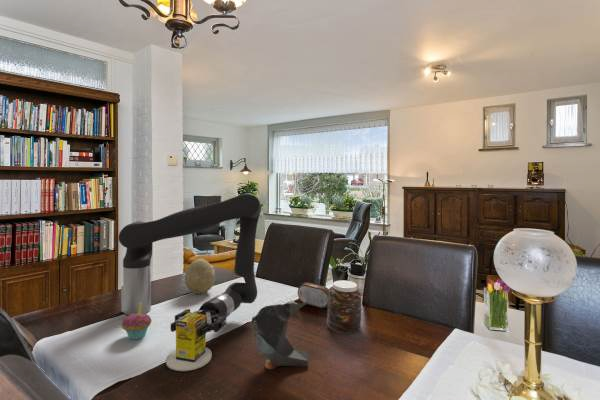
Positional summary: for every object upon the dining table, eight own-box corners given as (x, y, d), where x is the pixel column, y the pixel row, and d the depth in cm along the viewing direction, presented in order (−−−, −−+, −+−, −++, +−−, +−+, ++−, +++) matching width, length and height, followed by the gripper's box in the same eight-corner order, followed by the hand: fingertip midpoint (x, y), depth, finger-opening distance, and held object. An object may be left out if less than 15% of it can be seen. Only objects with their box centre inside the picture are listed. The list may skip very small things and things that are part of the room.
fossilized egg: (192, 287, 156) (192, 255, 155) (219, 289, 154) (219, 256, 153) (179, 297, 143) (179, 261, 142) (208, 299, 141) (208, 263, 140)
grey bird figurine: (256, 349, 102) (257, 290, 100) (307, 351, 101) (309, 291, 100) (247, 377, 87) (248, 308, 86) (307, 379, 87) (309, 310, 86)
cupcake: (157, 332, 111) (157, 296, 110) (137, 344, 103) (136, 305, 102) (136, 328, 113) (136, 293, 113) (114, 339, 105) (114, 301, 105)
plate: (156, 367, 91) (156, 362, 91) (184, 346, 102) (184, 342, 102) (194, 376, 87) (194, 371, 87) (219, 353, 99) (219, 349, 99)
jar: (364, 323, 121) (366, 282, 120) (355, 337, 111) (357, 291, 110) (333, 317, 126) (334, 277, 125) (321, 329, 116) (322, 286, 115)
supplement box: (194, 363, 91) (194, 323, 90) (175, 359, 93) (175, 320, 92) (206, 352, 97) (206, 314, 96) (187, 349, 98) (187, 312, 98)
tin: (332, 308, 135) (333, 287, 134) (328, 311, 132) (329, 289, 132) (300, 300, 143) (300, 280, 142) (296, 302, 140) (296, 282, 140)
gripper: (198, 294, 110) (163, 313, 94) (237, 300, 105) (207, 321, 90) (198, 317, 110) (163, 339, 95) (237, 324, 106) (207, 349, 90)
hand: (184, 330), depth 92 cm, fingers open, 8 cm apart
